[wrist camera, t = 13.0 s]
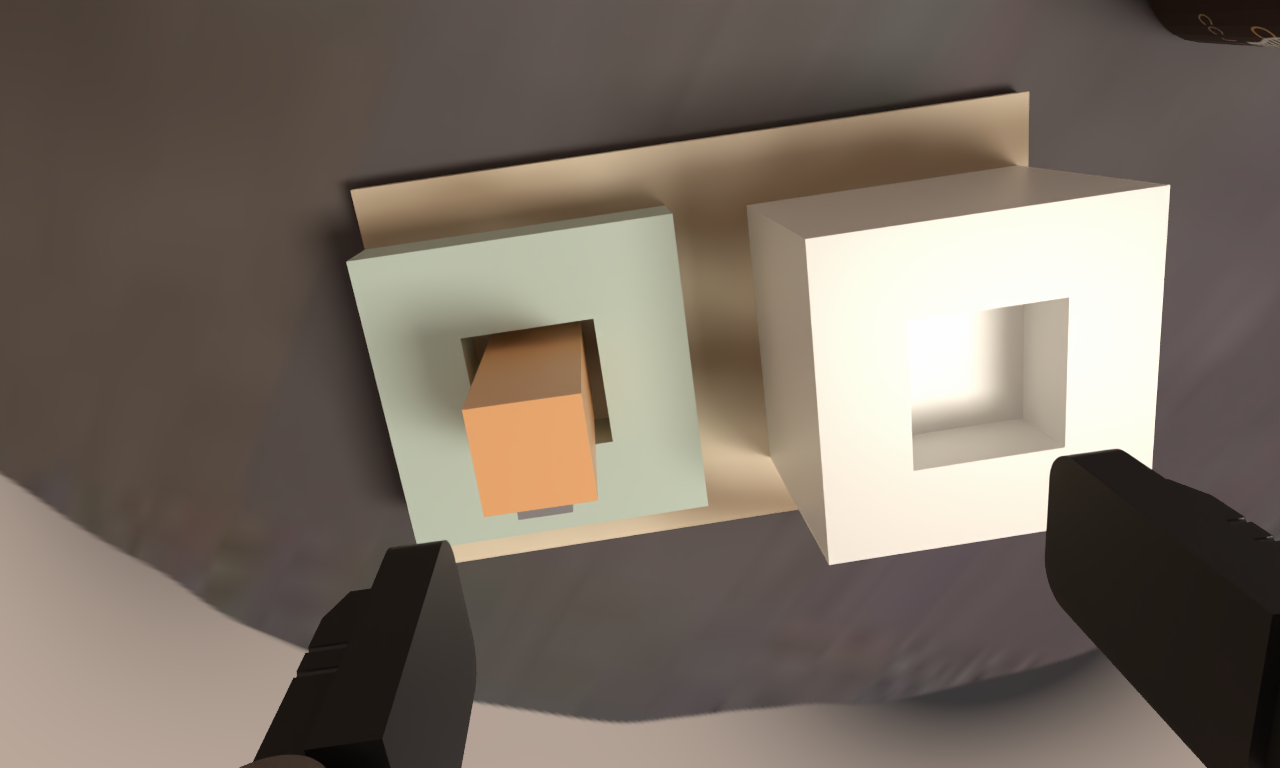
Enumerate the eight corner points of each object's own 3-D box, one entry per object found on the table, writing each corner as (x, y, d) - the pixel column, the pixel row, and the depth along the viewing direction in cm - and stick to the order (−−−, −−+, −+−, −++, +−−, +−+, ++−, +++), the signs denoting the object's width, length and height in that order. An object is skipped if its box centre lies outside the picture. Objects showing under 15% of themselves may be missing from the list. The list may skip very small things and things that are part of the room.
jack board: (356, 188, 36) (350, 190, 35) (1017, 92, 37) (1029, 91, 36) (444, 554, 42) (441, 565, 41) (1014, 465, 42) (1024, 474, 41)
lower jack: (364, 249, 36) (346, 261, 33) (665, 205, 36) (672, 213, 33) (430, 519, 40) (418, 550, 37) (699, 477, 40) (708, 505, 37)
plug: (491, 333, 37) (461, 409, 28) (580, 321, 37) (581, 393, 28) (510, 432, 39) (488, 537, 29) (595, 420, 39) (601, 521, 29)
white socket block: (746, 205, 36) (805, 239, 27) (1017, 165, 37) (1170, 185, 27) (770, 457, 40) (829, 564, 31) (1015, 419, 40) (1148, 514, 31)
